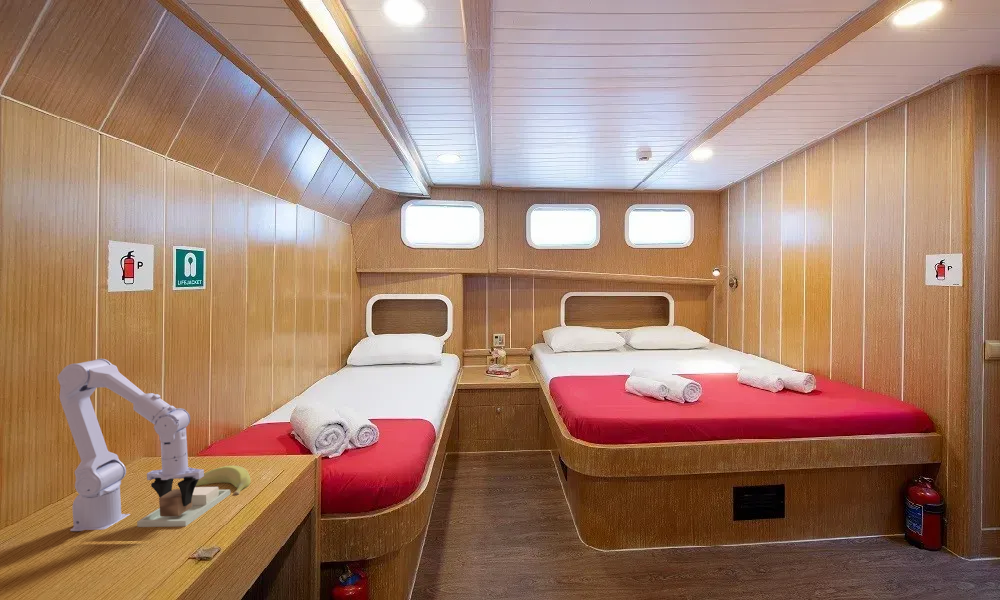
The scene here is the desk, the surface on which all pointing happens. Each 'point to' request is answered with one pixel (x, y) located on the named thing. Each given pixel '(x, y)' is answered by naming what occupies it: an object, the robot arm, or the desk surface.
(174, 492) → the walnut block
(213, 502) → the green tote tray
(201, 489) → the pale pink block
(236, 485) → the banana
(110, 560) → the desk surface
